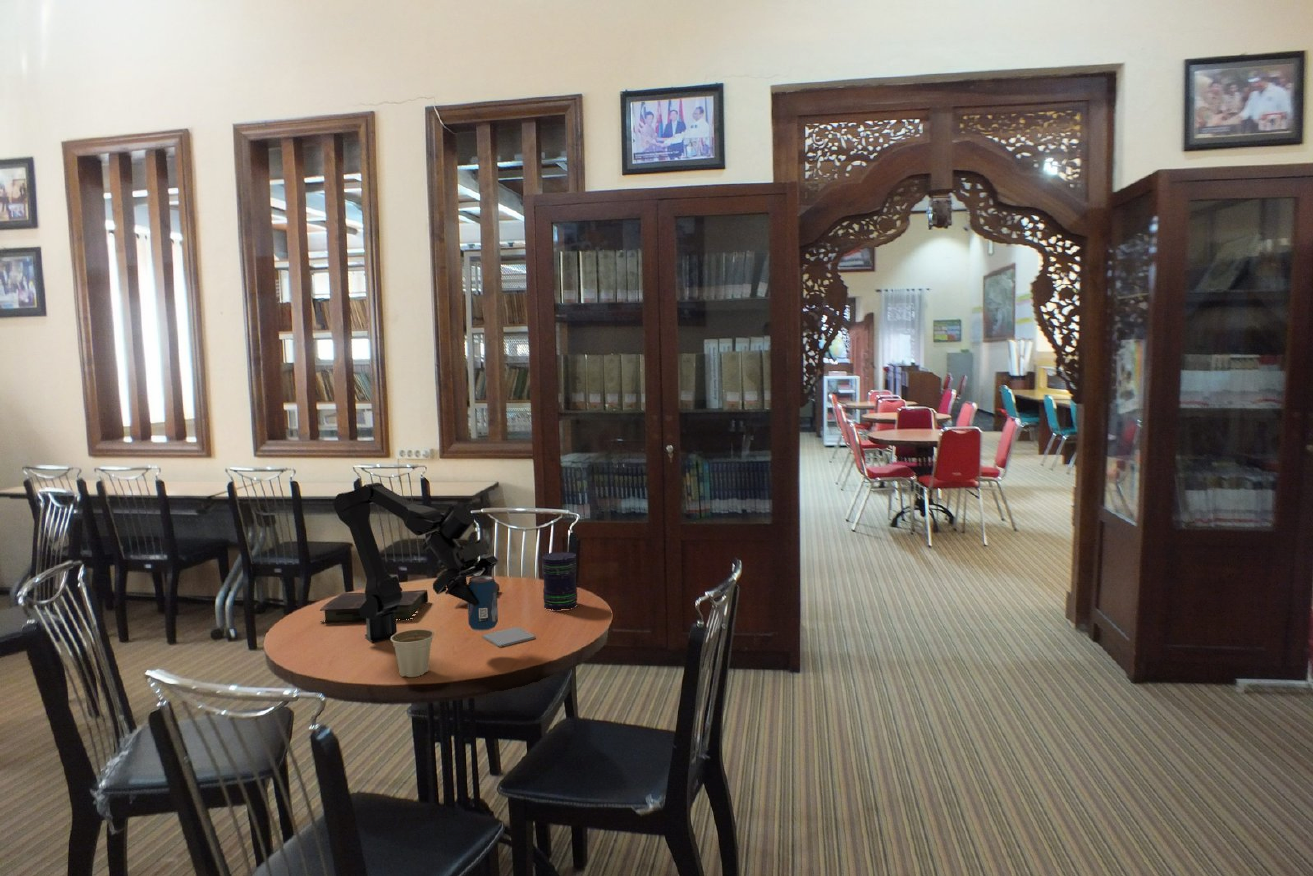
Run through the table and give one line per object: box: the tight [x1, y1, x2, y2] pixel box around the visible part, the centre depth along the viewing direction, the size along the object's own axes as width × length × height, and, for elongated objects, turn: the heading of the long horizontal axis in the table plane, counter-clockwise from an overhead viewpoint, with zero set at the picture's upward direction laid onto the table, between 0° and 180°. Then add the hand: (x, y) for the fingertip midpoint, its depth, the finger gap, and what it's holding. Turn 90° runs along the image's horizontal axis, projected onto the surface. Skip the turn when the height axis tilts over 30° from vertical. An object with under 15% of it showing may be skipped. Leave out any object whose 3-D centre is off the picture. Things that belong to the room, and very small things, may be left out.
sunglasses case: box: [454, 582, 500, 610], centre depth 230 cm, size 18×7×7 cm, turn 175°
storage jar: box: [541, 551, 578, 610], centre depth 221 cm, size 10×10×15 cm
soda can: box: [467, 575, 499, 632], centre depth 183 cm, size 7×7×12 cm
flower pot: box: [390, 628, 435, 678], centre depth 173 cm, size 9×9×9 cm
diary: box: [319, 589, 429, 624], centre depth 220 cm, size 19×25×5 cm
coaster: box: [481, 626, 536, 648], centre depth 195 cm, size 10×10×1 cm
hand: (487, 600), depth 183 cm, fingers closed on soda can, 7 cm apart
